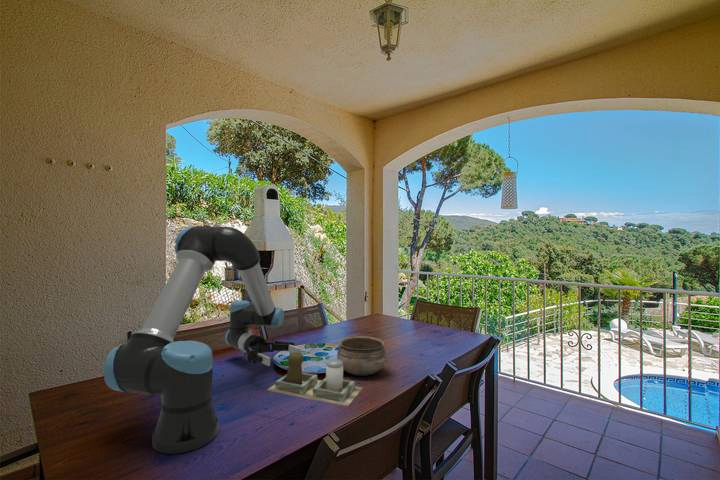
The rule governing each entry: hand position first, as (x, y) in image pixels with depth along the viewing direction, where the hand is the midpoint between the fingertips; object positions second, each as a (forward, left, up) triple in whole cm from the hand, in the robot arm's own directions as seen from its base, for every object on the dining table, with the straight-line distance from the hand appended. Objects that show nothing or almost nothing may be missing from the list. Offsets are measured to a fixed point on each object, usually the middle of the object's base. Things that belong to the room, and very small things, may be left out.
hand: (285, 356), depth 121 cm
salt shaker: (-3, -20, -8) cm, 22 cm away
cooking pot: (+18, -22, -9) cm, 30 cm away
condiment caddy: (-3, -13, -9) cm, 17 cm away
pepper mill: (-4, -6, -8) cm, 10 cm away
